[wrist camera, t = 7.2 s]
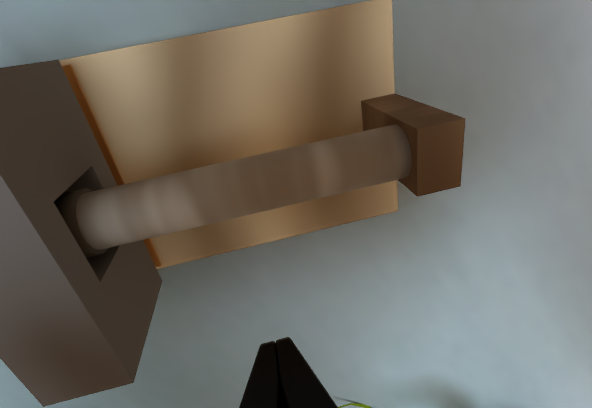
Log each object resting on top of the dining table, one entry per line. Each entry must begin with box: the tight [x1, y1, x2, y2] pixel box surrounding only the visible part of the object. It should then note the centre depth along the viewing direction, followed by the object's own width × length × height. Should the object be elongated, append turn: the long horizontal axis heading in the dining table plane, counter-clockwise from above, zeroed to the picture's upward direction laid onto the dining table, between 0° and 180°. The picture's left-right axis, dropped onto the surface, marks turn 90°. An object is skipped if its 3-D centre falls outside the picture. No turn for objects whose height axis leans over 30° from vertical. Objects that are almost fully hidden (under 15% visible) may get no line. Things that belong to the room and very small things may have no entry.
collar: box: [0, 60, 162, 407], centre depth 11 cm, size 3×10×5 cm, turn 10°
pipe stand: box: [54, 0, 465, 269], centre depth 13 cm, size 18×10×6 cm, turn 100°
